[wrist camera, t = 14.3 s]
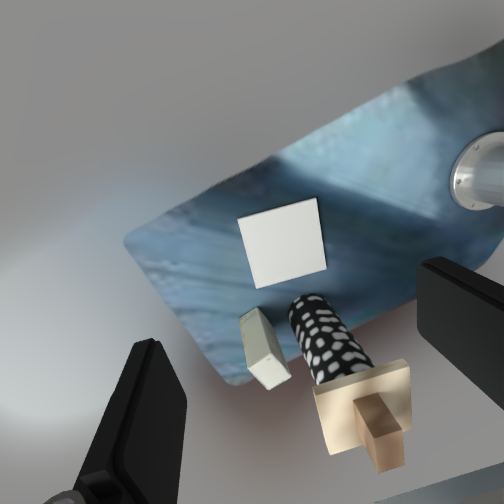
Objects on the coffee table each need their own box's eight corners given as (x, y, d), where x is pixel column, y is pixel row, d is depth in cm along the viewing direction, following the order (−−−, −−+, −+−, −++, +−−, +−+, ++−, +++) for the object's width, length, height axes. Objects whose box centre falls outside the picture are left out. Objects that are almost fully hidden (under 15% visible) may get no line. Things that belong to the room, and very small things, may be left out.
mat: (314, 197, 43) (316, 198, 43) (325, 267, 48) (326, 268, 48) (237, 218, 43) (237, 219, 42) (255, 287, 48) (256, 288, 47)
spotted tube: (278, 312, 50) (316, 407, 32) (313, 285, 49) (373, 367, 31) (303, 337, 53) (351, 437, 35) (337, 312, 52) (404, 402, 34)
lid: (402, 358, 31) (440, 400, 26) (406, 419, 35) (439, 466, 30) (312, 386, 31) (332, 435, 25) (326, 445, 35) (346, 497, 30)
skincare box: (238, 318, 50) (245, 367, 38) (257, 305, 49) (270, 351, 38) (256, 339, 52) (267, 392, 41) (275, 327, 52) (292, 377, 40)
